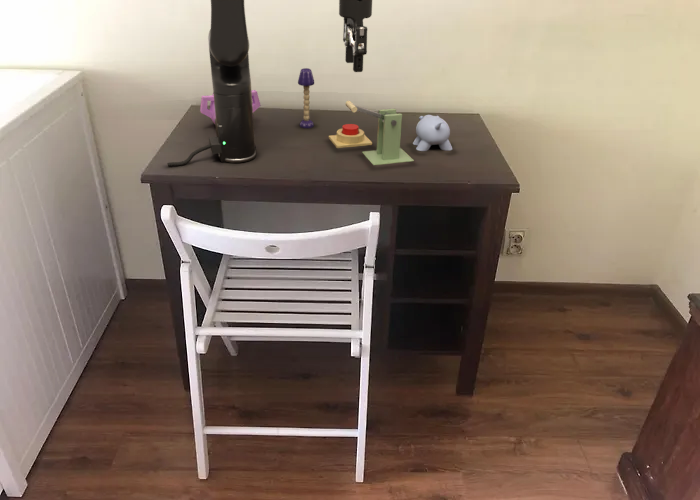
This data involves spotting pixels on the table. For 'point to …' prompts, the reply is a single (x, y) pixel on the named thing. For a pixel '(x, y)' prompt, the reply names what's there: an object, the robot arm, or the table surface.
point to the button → (350, 129)
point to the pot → (211, 112)
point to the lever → (365, 110)
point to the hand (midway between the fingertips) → (353, 67)
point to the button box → (349, 139)
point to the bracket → (388, 141)
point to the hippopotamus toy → (432, 133)
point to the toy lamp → (306, 95)
